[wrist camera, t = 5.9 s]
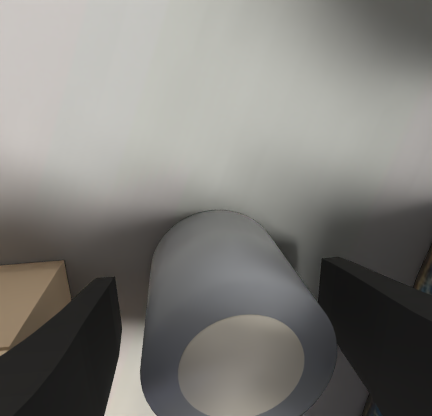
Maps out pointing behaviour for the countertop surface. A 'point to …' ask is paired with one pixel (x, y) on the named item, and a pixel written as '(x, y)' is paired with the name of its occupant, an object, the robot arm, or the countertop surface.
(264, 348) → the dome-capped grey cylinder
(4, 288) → the cardboard box
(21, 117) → the countertop surface
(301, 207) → the countertop surface
